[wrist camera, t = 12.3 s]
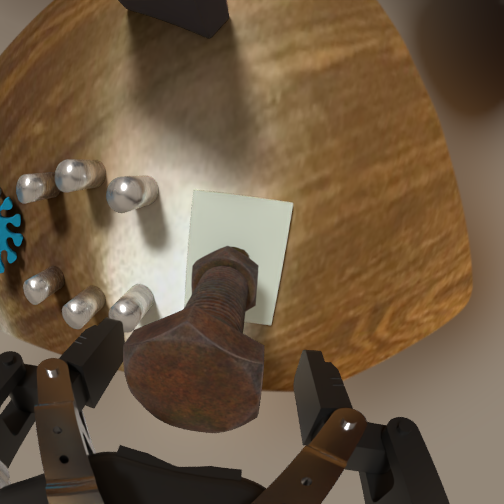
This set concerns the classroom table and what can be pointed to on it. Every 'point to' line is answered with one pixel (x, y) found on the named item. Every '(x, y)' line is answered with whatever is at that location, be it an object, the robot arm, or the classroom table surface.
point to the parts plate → (242, 240)
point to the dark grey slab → (185, 13)
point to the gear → (8, 232)
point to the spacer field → (120, 200)
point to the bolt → (202, 351)
